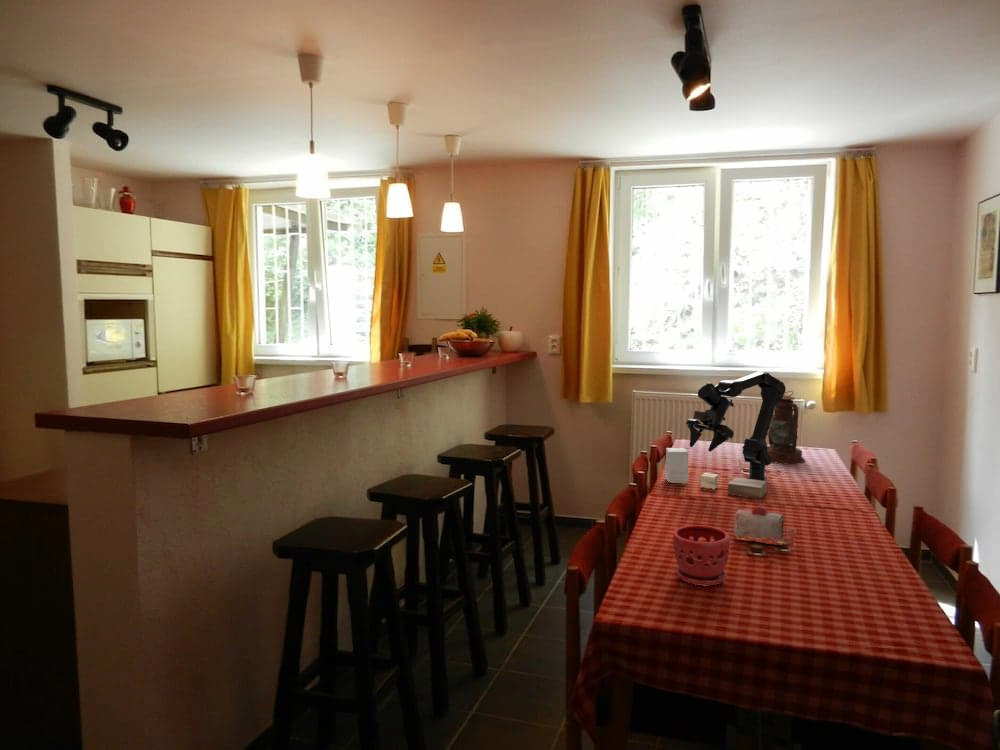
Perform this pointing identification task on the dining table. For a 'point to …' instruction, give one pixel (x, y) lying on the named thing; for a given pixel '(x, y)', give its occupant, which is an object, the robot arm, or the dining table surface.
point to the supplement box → (677, 465)
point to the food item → (758, 523)
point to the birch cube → (709, 480)
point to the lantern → (784, 433)
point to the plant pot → (701, 554)
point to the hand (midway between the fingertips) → (699, 449)
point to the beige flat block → (747, 487)
